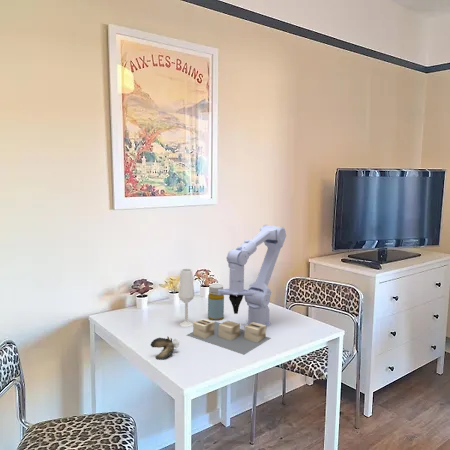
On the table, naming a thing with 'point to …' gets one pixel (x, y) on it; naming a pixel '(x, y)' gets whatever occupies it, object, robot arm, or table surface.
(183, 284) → the champagne flute
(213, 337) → the charcoal rubber mat
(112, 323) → the table surface
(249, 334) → the one-bar birch block
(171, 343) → the eagle figurine
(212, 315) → the bottle
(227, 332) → the plain birch block
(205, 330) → the two-bar birch block
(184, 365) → the table surface
